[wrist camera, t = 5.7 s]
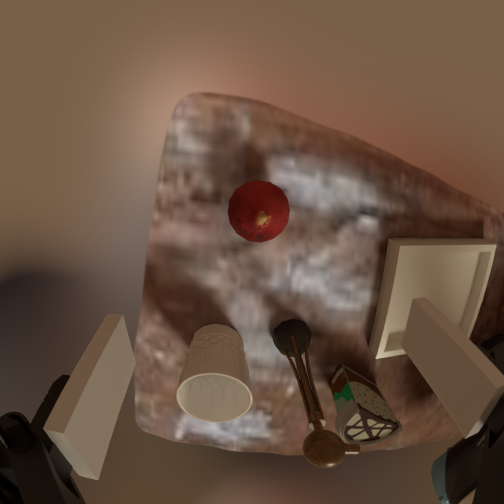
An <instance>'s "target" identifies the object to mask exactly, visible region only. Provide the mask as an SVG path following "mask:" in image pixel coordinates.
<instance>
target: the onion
mask: <svg viewBox="0 0 504 504" xmlns="http://www.w3.org/2000/svg"><path fill="white" fill-rule="evenodd" d="M289 212H290V209H289V204H288V199H287V197H286V195H285V194H284V193H283V191H282V190H281V188H279V187H277V186H276V185H274V184H272V183H271V182H266V181H260V180H257V181H252V182H247V183H245V184H243V185H242V186H240V187H239V188H237V189H236V190H235V192H234V193H233V195H232V197H231V198H230V200H229V206H228V216H229V221H230V224H231V225H232V227H233V228H234V230H235V231H236V233H237V234H238V235H240V236H241V237H243V238H245V239H246V240H248V241H254V242H264V241H267V240H271V239H273V238H275V237H276V236H277V235H278V234H280V233H281V232H282V231H283V229H284V228H285V226H286V224H287V223H288V218H289Z"/></svg>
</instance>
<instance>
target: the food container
mask: <svg viewBox="0 0 504 504" xmlns="http://www.w3.org/2000/svg"><path fill="white" fill-rule="evenodd" d="M330 386H331V390H332V394H333V398H334V402H335V407H336V411H337V417H336V421H335V427H336V430H337V431H338V433H339V434H340V436H341V437H342V439H343V440H345V441H346V442H347V443H348V444H359V446H369V445H374V444H377V443H380V442H383V441H385V440H388V439H389V438H391V437H393V436H395V435H396V434H398V433H399V432H401V431H402V430H403V429H402V426H401V424H400V421H398V420H397V419H396V417H395V415H394V414H393V412H392V410H391V408H390V407H389V405H388V403H387V402H386V400H385V398H384V396H383V395H382V393H381V391H380V390H379V388H378V386H377V385H376V384H374V383H373V382H371V381H369V380H368V379H366V378H364V377H363V376H361V375H359V374H358V373H356V372H354V371H353V370H351V369H349V368H348V367H346V366H345V365H343V364H340V365H339V366H338V367H337V368H336V370H335V372H334V373H333V375H332V377H331V381H330Z"/></svg>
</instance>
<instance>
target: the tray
mask: <svg viewBox="0 0 504 504" xmlns="http://www.w3.org/2000/svg"><path fill="white" fill-rule="evenodd" d="M495 250H496V244H494V243H492V242H490V241H488V240H486V239H484V238H388V245H387V252H386V259H385V265H384V271H383V277H382V283H381V289H380V294H379V299H378V304H377V309H376V314H375V319H374V324H373V328H372V332H371V337H370V341H369V345H368V347H369V348H370V350H371V352H372V353H373V355H374V357H375V358H376V359H378V358H384V357H391V356H396V355H402V354H406V352H405V351H404V349H403V348H402V347H401V343H402V339H403V336H404V332H405V328H406V324H407V320H408V316H409V312H410V308H411V304H412V299H414V298H422V297H425V298H427V299H428V300H429V301H430V302H431V303H432V304H433V305H434V306H435V307H436V308H437V309H438V310H439V311H441V312H442V313H443V314H444V315H445V316H446V317H447V318H448V319H449V320H450V321H451V322H452V323H453V324H454V325H455V326H456V327H457V328H458V329H459V330H460V331H461V332H462V333H463V334H464V335H465V336H466V337H467V338H468V339H469V338H470V335H471V333H472V330H473V327H474V324H475V322H476V319H477V316H478V313H479V310H480V306H481V303H482V300H483V297H484V293H485V290H486V286H487V283H488V279H489V275H490V271H491V267H492V263H493V259H494V254H495Z"/></svg>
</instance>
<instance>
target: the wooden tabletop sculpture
mask: <svg viewBox="0 0 504 504" xmlns="http://www.w3.org/2000/svg"><path fill="white" fill-rule="evenodd" d="M310 340H311V332H310V330H309V328H308V327H307V325H306V323H305V322H303V321H300V320H296V319H291V320H287V321H283V322H282V323H281V324H280V325H279V326H278V327H276V328H275V329H274V335H273V342H274V344H275V346H276V347H277V349H278V350H279V351H280V352H281V353H282V354H283V355H286V357H287V358H288V360H289V362H290V364H291V366H292V369H293V371H294V374H295V376H296V379H297V382H298V385H299V388H300V392H301V395H302V399H303V403H304V406H305V410H306V414H307V418H308V422H309V428H310V429H313V430H314V431H313V432H311V433H310V434H309V435H308V436H307V437H306V438H305V440H304V443H303V451H304V454H305V456H306V458H307V459H308V460H309V461H310V462H311V463H312V464H313V465H316V466H318V467H321V468H332V467H334V466H336V465H338V464H339V463H340V462H341V461H342V460H343V458H344V455H345V454H358V453H359V451H360V446H359V444H348V443H344V442H343V441H342V440H341V438H340V437H339V436H338V435H337V434H335V433H333V432H331V431H329V430H324V429H323V427H324V426H325V424H326V421H325V418H324V415H323V412H322V408H321V405H320V402H319V399H318V396H317V392H316V389H315V385H314V382H313V379H312V374H311V370H310V365H309V358H308V348H309V345H310ZM304 352H305V359H306V366H307V371H308V376H309V379H308V376H307V373H306V370H305V366H304V363H303V360H302V357H301V355H302V354H303V353H304ZM290 357H294V358H295V361H296V365H297V368H298V372H299V375H298V372H297V370H296V368H295V365H294V363H293V361H292V359H291V358H290ZM299 376H300V378H299ZM300 379H301V380H300ZM309 380H310V383H309ZM310 384H311V386H310ZM311 388H312V389H311ZM312 391H313V393H312ZM313 395H314V396H313ZM314 398H315V399H314ZM315 401H316V402H315ZM316 405H317V406H316ZM317 408H318V409H317Z"/></svg>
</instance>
